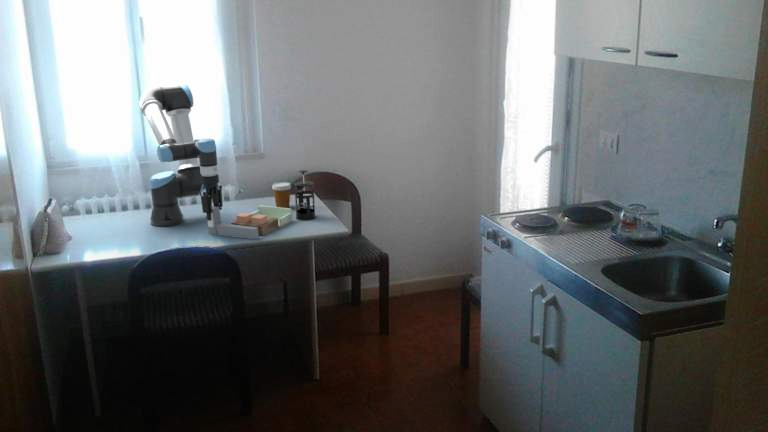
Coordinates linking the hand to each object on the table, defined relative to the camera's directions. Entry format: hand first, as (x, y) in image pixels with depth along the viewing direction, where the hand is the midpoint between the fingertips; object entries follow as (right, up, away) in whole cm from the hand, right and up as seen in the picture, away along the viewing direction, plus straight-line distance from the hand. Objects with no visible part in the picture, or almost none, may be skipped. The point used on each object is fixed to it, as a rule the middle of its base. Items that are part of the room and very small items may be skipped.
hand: (214, 225), depth 321 cm
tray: (+23, +1, +15) cm, 27 cm away
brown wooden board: (+17, -2, +5) cm, 18 cm away
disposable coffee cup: (+25, +8, +38) cm, 46 cm away
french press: (+38, +3, +21) cm, 44 cm away
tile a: (+13, +2, +4) cm, 13 cm away
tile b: (+20, +1, +1) cm, 20 cm away
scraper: (+9, -4, -3) cm, 11 cm away
